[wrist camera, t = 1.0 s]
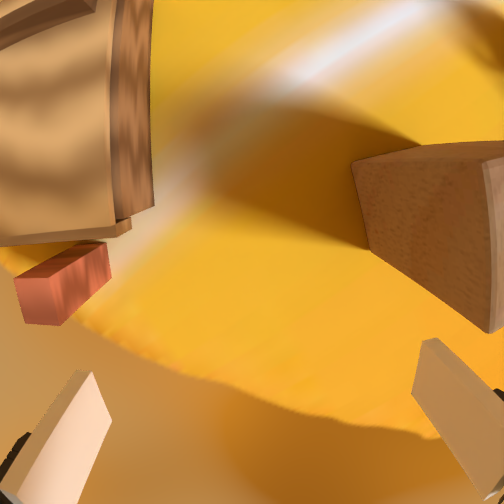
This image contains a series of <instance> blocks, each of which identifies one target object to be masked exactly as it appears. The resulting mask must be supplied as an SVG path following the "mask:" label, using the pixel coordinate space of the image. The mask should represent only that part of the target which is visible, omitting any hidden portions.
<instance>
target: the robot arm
mask: <svg viewBox="0 0 504 504" xmlns="http://www.w3.org/2000/svg"><path fill="white" fill-rule="evenodd" d="M411 394H412V395H413V397H414V398H415V400H416V401H417V403H418V404H419V405H420V407H421V408H422V410H423V411H424V412H425V414H426V415H427V417H428V418H429V420H430V421H431V422H432V424H433V425H434V427H435V428H436V430H437V431H438V433H439V434H440V435H441V437H442V438H443V440H444V441H445V443H446V444H447V446H448V447H449V449H450V450H451V452H452V453H453V455H454V456H455V458H456V459H457V461H458V462H459V464H460V465H461V467H462V468H463V470H464V471H465V473H466V474H467V476H468V477H469V479H470V480H471V482H472V484H473V485H474V487H475V488H476V490H477V491H478V493H479V495H480V496H481V498H482V499H483V501H484V500H486V499H488V498H489V497H491V496H493V495H494V494H496V493H497V492H499V491H500V490H501V489H502V488H503V486H504V392H503V391H501V390H499V389H495V390H492V389H491V388H490V387H488V386H487V385H486V384H485V383H484V382H483V381H482V380H481V379H480V378H479V377H478V376H477V375H476V374H475V373H474V372H473V371H472V370H471V369H470V368H469V367H468V366H467V365H466V364H465V363H464V362H463V361H462V360H461V359H460V358H459V357H457V356H456V355H455V354H454V353H453V352H452V351H451V350H450V349H449V348H448V347H447V346H446V345H445V344H444V343H442V342H441V341H440V340H439V339H438V338H433V339H429V340H425V341H422V345H421V350H420V356H419V361H418V366H417V370H416V375H415V379H414V384H413V388H412V392H411ZM111 422H112V420H111V417H110V415H109V413H108V410H107V408H106V406H105V403H104V401H103V399H102V396H101V394H100V391H99V389H98V386H97V384H96V381H95V378H94V376H93V373H92V371H85V370H76V371H75V372H74V374H73V375H72V376H71V378H70V379H69V381H68V382H67V383H66V385H65V386H64V388H63V389H62V390H61V392H60V393H59V394H58V396H57V397H56V399H55V400H54V402H53V403H52V404H51V406H50V407H49V409H48V410H47V412H46V413H45V414H44V416H43V418H42V419H41V420H40V422H39V423H38V425H37V426H36V428H35V429H34V431H33V432H32V433H29V432H27V433H26V434H25V435H23V436H22V437H21V438H19V439H18V440H17V442H16V443H15V445H14V446H13V448H12V451H10V452H9V454H8V455H7V459H5V460H4V461H3V463H2V465H1V466H0V504H77V502H78V499H79V497H80V495H81V492H82V490H83V487H84V485H85V482H86V480H87V477H88V475H89V473H90V470H91V468H92V466H93V463H94V461H95V458H96V456H97V454H98V451H99V449H100V447H101V445H102V442H103V440H104V437H105V435H106V433H107V431H108V429H109V426H110V424H111ZM503 500H504V495H503V496H502V497H501V498H500V500H499V502H498V504H501V503H502V502H503Z"/></svg>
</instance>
